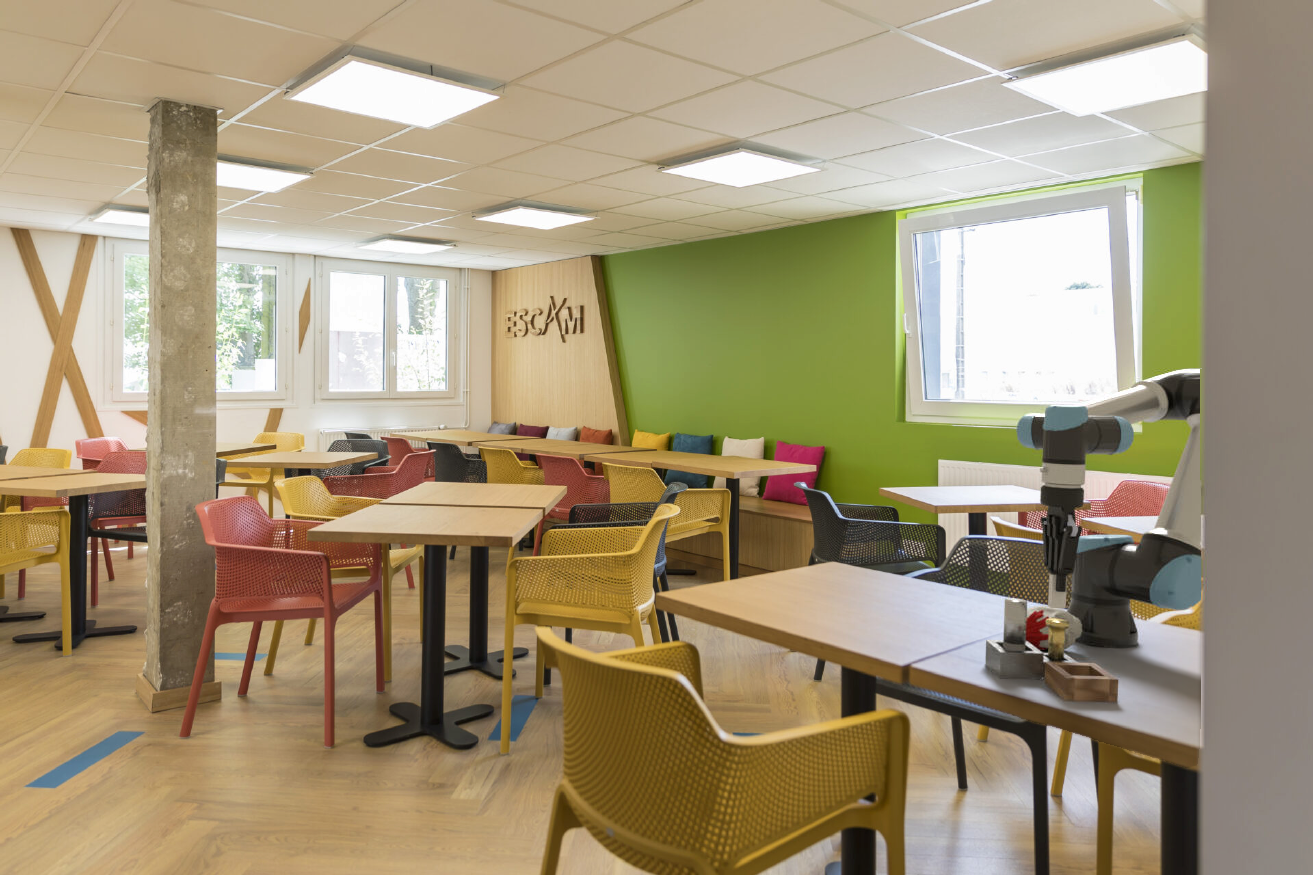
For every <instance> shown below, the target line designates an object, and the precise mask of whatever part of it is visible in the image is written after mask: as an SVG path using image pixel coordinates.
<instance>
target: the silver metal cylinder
mask: <svg viewBox="0 0 1313 875" xmlns="http://www.w3.org/2000/svg"><path fill="white" fill-rule="evenodd" d="M1003 609H1004V612H1003V615H1004V616H1003V639H1002V640H1003V649H1004V650H1007V651H1025V647H1026V621H1027V609H1028V601H1027V600H1025V599H1022V598H1005V599H1004V608H1003Z"/></svg>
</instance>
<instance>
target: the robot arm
mask: <svg viewBox="0 0 1313 875" xmlns="http://www.w3.org/2000/svg"><path fill="white" fill-rule="evenodd" d="M1200 369H1201V368H1195V367H1194V368H1192V367H1190V368H1183V369H1178V370H1173V371H1170V372H1169V371H1168V372H1167V373H1164V374H1160V375H1156V376H1152V377H1149V378H1146V379H1143V380H1139V381H1137V382H1135V383H1134V384H1132V386H1131V387H1130V388H1129V389H1125V390H1122V391H1119V392H1114V393H1112V394H1111V393H1110V394H1109V395H1105V396H1102V397H1099V398H1094V399H1092V400H1088V401H1085V402H1081V403H1078V404H1074V405H1066V404H1065V405H1063V404H1062V405H1061V404H1060V405H1059V404H1050V405H1048V406H1047V407H1045V410H1044V413H1040V412H1035V413H1027V414H1023V416H1022V417H1021V418H1019V420H1018V422H1017V425H1016V435H1017V436H1016V437H1017V438H1016V439H1017V440H1018V442H1019V443H1020V445H1021V446H1022V447H1025V448H1028V449H1034V450H1036V451H1039V450H1042V458H1041V459H1042V460H1041V467H1040V468H1039V472H1040V473H1041V482H1042V483H1043V484H1044V485H1043V484H1042V485H1041V486H1040V496H1039V497H1040V499H1039V501H1040V504H1041V505H1043V506H1045V507H1048V508H1047V511H1046V516H1041V518H1040V524H1041V528H1042V544H1043V546H1042V547H1043V564H1044V567H1045V568H1047V571H1048V573H1049V575H1048V576H1049V579H1048V599H1047V600H1048V601H1047V606H1049V607H1051V608H1058V609H1066V607H1067V606H1066V604H1067V586H1068V576H1069V574H1071V597H1070V603H1069V605H1068V607H1067V610H1066V611H1067V612H1068V613H1070V614H1071V615H1073V616H1075V617H1076V618H1079V620H1080V621H1081V624H1082V632H1081V636H1080V637H1079V638H1076V639H1075V642H1076V643H1077V642H1078V643H1080V644H1085V645H1090V646H1096V647H1097V646H1098V647H1102V648H1103V647H1105V648H1130V647H1135V646H1137V645H1138V644H1139V631H1138V628H1137V626H1136V625H1137V624H1136V622H1135V619H1134V615H1133V612H1132V608H1131V600H1133V601H1136V602H1140V603H1143V604H1148V605H1152V606H1156V607H1158V608H1159V609H1169V610H1176V611H1184V610H1189V609H1190V608H1193V607H1194V606H1196V605H1198V604H1199V602H1201V601H1202V599H1201V547H1202V545H1201V541H1202V539H1201V480H1200ZM1164 420H1165V421H1167V420H1171V421H1186V422H1187V424H1188V426H1189V428H1190V433H1189V435H1188V438H1187V441H1186V443H1185V446H1184V448H1183V452H1182V454H1181V456H1180V459H1179V462H1178V465H1177V467H1176V469H1175V473H1174V475H1173V478H1172V481H1171V482H1170V485H1169V489H1168V491H1167V494H1166V496H1165V498H1164V502H1163V504H1162V507H1161V509H1160V512H1159V514H1158V517H1157V520H1156V523H1155V526H1154V528H1153V529H1152V530H1151V529H1150V530H1149V531H1146V532H1144V533H1143V534H1142V537H1141V539H1140V540H1139V544H1134V543H1135V541H1134V537H1133V536H1132V535H1127V534H1090V535H1089V534H1085V535H1082V531H1083V527H1082V526H1081V525H1076V520H1077V517H1076V511H1075V510H1076V509H1080V508H1082V507H1083V506H1084V502H1085V489H1084V488H1083V487H1082V486H1084V485H1085V484H1086V468H1087V467H1086V456H1087V455H1109V456H1112V455H1116V454H1121V453H1124V452H1126V451H1128V450H1129V449H1130V447H1132V446H1131V445H1132V444H1133V443H1134V439H1135V438H1134V437H1135V435H1134V434H1135V432H1134V431H1135V430H1134V428H1133V425H1134V424H1136V423H1137V424H1138V423H1140V422H1144V423H1155V422H1158V421H1164Z"/></svg>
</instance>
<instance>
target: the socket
mask: <svg viewBox="0 0 1313 875" xmlns="http://www.w3.org/2000/svg"><path fill="white" fill-rule="evenodd" d="M1045 662H1068V663H1079V662H1078V661H1076V660H1075V659H1073V658H1072V657H1070V656H1069V654H1066V653H1065V652H1064V658H1063V659H1054V658H1050V657H1048V652H1042V651H1041V650H1039V649H1037V648H1036V647H1034V646H1033V645H1032V644H1030V643H1029V642H1028V641H1026V647H1025V651H1007V650H1004V649H1003V639H1001V640H998V639H986V640H985V664H984V665H985V666H986V667H987V668H988V669H989V670H991V672H993V673H994V674H995V675H996V676H997V677H998V678H999V679H1008V680H1009V679H1010V680H1011V679H1012V680H1013V679H1014V680H1017V679H1018V680H1043V679H1045Z"/></svg>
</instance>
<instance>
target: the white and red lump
mask: <svg viewBox="0 0 1313 875" xmlns="http://www.w3.org/2000/svg"><path fill="white" fill-rule="evenodd" d="M1049 618H1056V619H1062V620H1066V621H1068V622H1069V628H1067V629H1065V642H1064V650H1067V649H1069V648H1071V647H1072V646H1073V645H1074V644H1075V642H1076V641H1075V639H1076V638H1079V637H1080V636H1081V632H1082V624H1081V621H1080V620H1079V618H1076V617H1075V616H1073V615H1071V614H1070V613H1068V612H1067V610H1066V609H1063V608H1051V607H1049V606H1048V605H1039V606H1032V607H1027V621H1026V641H1028V642H1029V643H1030V644H1032V645H1033V646H1034V647H1036V648H1037V649H1038V650H1040V651H1041V650H1042V651H1046V650H1048V640H1049V627H1048V626H1046V619H1049Z"/></svg>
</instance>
